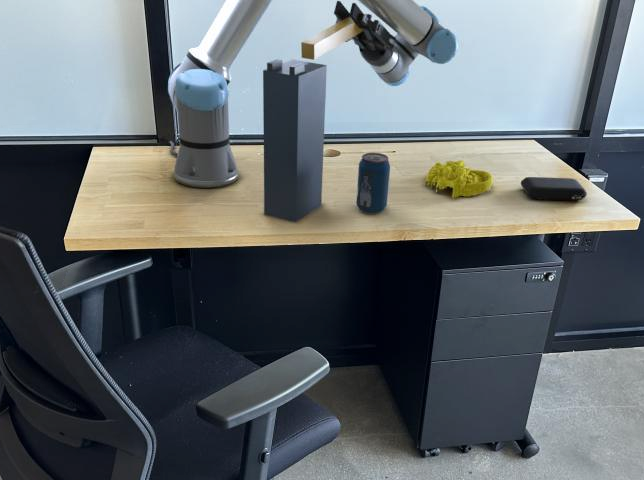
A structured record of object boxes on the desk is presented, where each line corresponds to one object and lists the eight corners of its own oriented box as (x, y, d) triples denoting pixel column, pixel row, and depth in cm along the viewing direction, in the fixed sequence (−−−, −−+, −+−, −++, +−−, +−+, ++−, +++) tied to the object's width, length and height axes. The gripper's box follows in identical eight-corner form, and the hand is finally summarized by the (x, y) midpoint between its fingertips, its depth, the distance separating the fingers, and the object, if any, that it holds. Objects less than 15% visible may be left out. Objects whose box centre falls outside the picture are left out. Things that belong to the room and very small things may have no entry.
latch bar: (356, 26, 171) (356, 12, 169) (367, 28, 170) (368, 14, 168) (301, 57, 153) (301, 42, 151) (314, 59, 152) (314, 44, 150)
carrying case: (528, 202, 176) (588, 204, 177) (531, 190, 175) (592, 192, 176) (517, 186, 185) (575, 188, 186) (520, 174, 183) (578, 176, 184)
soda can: (385, 204, 171) (389, 152, 164) (387, 215, 166) (392, 162, 159) (355, 203, 171) (358, 151, 164) (356, 214, 165) (360, 161, 158)
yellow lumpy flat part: (502, 192, 182) (505, 175, 179) (447, 200, 175) (450, 183, 173) (463, 170, 193) (465, 154, 191) (411, 177, 187) (413, 160, 185)
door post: (290, 197, 172) (292, 51, 154) (321, 204, 169) (327, 57, 151) (264, 214, 163) (262, 61, 145) (295, 222, 160) (298, 68, 142)
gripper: (353, 31, 184) (316, -14, 162) (413, 39, 179) (383, -6, 157) (345, 61, 185) (307, 21, 163) (404, 71, 180) (373, 30, 158)
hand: (344, 8), depth 160 cm, fingers closed on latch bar, 3 cm apart
